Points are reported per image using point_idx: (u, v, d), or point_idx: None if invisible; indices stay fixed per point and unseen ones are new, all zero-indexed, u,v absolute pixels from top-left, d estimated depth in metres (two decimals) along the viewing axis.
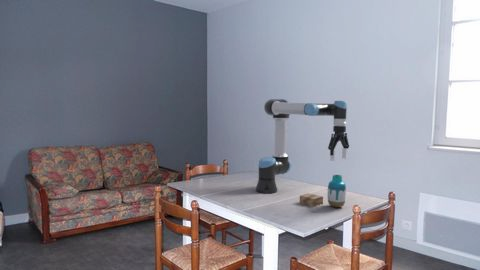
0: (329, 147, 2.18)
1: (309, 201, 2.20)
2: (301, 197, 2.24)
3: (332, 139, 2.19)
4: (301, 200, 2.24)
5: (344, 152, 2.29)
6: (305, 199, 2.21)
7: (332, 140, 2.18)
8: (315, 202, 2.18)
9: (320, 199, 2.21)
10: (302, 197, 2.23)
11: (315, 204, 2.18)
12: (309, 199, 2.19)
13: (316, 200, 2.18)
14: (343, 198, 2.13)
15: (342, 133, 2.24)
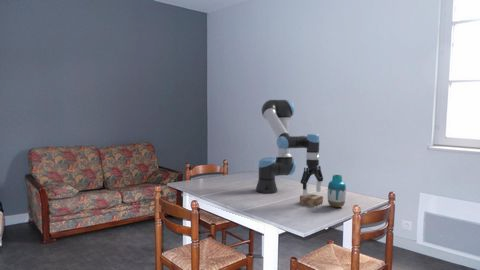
0: (301, 181, 2.16)
1: (309, 202, 2.19)
2: (301, 197, 2.23)
3: (304, 173, 2.17)
4: (301, 200, 2.23)
5: (318, 185, 2.27)
6: (305, 199, 2.21)
7: (304, 174, 2.17)
8: (316, 202, 2.18)
9: (320, 199, 2.21)
10: (302, 197, 2.23)
11: (316, 204, 2.18)
12: (310, 199, 2.19)
13: (317, 200, 2.18)
14: (343, 198, 2.13)
15: (315, 166, 2.22)
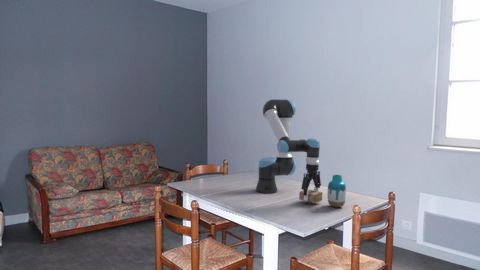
0: (302, 188, 2.18)
1: (309, 198, 2.20)
2: (301, 193, 2.23)
3: (304, 179, 2.18)
4: (301, 196, 2.23)
5: None
6: None
7: (304, 180, 2.18)
8: (316, 198, 2.18)
9: (320, 195, 2.22)
10: (302, 193, 2.23)
11: (316, 200, 2.18)
12: (310, 195, 2.19)
13: (317, 196, 2.19)
14: (343, 198, 2.13)
15: (315, 171, 2.23)
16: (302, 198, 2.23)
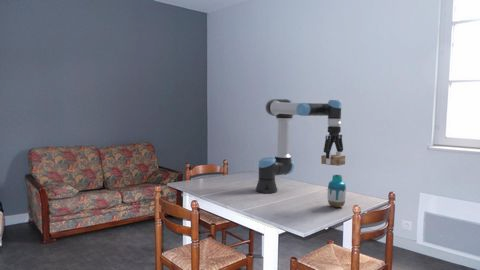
0: (324, 150, 2.10)
1: (332, 160, 2.12)
2: (323, 157, 2.15)
3: (327, 141, 2.11)
4: (323, 160, 2.15)
5: None
6: None
7: (327, 142, 2.10)
8: (339, 160, 2.10)
9: (343, 158, 2.14)
10: (324, 157, 2.15)
11: (339, 163, 2.10)
12: (332, 158, 2.11)
13: (340, 159, 2.11)
14: (343, 198, 2.13)
15: (337, 133, 2.15)
16: (324, 162, 2.15)
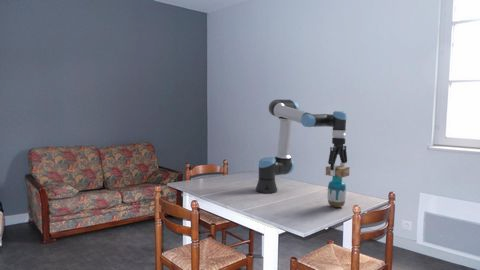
0: (329, 162, 2.10)
1: (336, 172, 2.11)
2: (327, 168, 2.15)
3: (331, 153, 2.10)
4: (327, 171, 2.15)
5: None
6: None
7: (331, 154, 2.10)
8: (344, 172, 2.10)
9: (347, 169, 2.14)
10: (329, 168, 2.14)
11: (344, 174, 2.10)
12: (337, 169, 2.11)
13: (344, 171, 2.10)
14: (343, 198, 2.13)
15: (342, 145, 2.15)
16: (329, 173, 2.14)
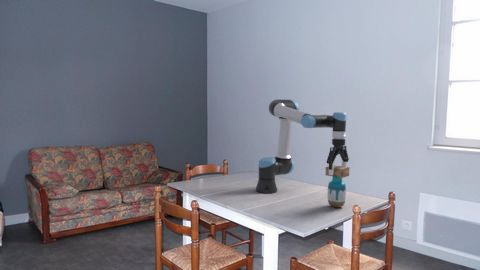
0: (328, 161, 2.09)
1: (336, 172, 2.11)
2: (327, 168, 2.15)
3: (331, 153, 2.10)
4: (327, 172, 2.15)
5: (343, 166, 2.20)
6: None
7: (331, 154, 2.09)
8: (344, 172, 2.10)
9: (347, 170, 2.14)
10: (328, 168, 2.14)
11: (343, 175, 2.10)
12: (337, 170, 2.11)
13: (344, 171, 2.10)
14: (343, 198, 2.13)
15: (341, 146, 2.15)
16: None
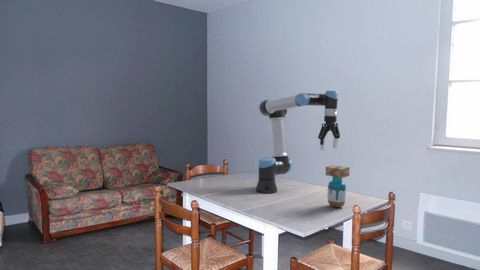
0: (319, 136, 2.21)
1: (336, 172, 2.11)
2: (327, 168, 2.15)
3: (322, 129, 2.21)
4: (327, 172, 2.15)
5: (335, 142, 2.31)
6: (332, 170, 2.13)
7: (322, 130, 2.21)
8: (344, 172, 2.10)
9: (347, 170, 2.14)
10: (328, 168, 2.14)
11: (343, 175, 2.10)
12: (337, 170, 2.11)
13: (344, 171, 2.10)
14: (343, 198, 2.13)
15: (333, 123, 2.26)
16: (329, 173, 2.15)
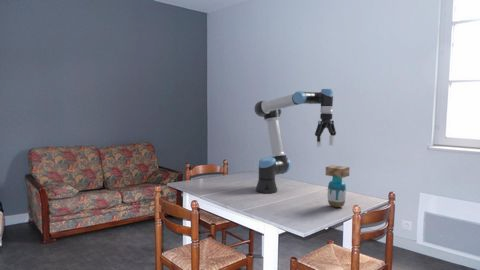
0: (316, 133, 2.26)
1: (336, 172, 2.11)
2: (327, 168, 2.15)
3: (319, 126, 2.27)
4: (327, 172, 2.15)
5: (331, 139, 2.37)
6: (332, 170, 2.13)
7: (319, 127, 2.27)
8: (344, 172, 2.10)
9: (347, 170, 2.14)
10: (328, 168, 2.14)
11: (343, 175, 2.10)
12: (337, 170, 2.11)
13: (344, 171, 2.10)
14: (343, 198, 2.13)
15: (329, 120, 2.32)
16: (329, 173, 2.15)
